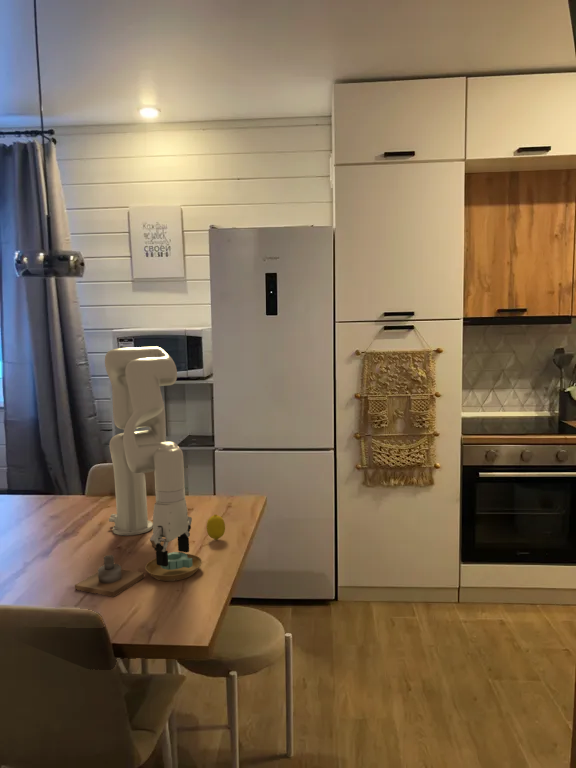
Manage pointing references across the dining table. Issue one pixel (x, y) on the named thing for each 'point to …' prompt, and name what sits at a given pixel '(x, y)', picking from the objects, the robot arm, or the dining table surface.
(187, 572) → the plant saucer
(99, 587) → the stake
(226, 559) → the dining table surface
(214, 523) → the lemon
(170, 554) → the ring
